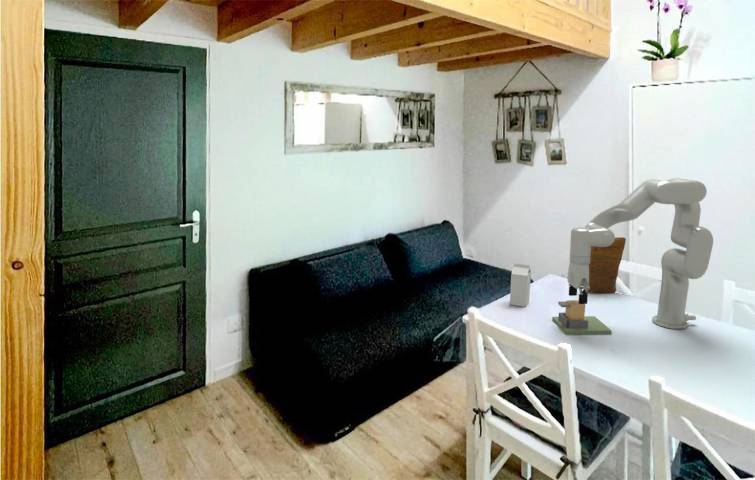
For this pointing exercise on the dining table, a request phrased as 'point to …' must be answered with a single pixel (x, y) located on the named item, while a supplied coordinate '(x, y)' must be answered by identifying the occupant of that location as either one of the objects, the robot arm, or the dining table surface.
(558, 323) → the green base plate
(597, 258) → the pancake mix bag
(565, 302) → the tan wooden block
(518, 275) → the milk carton
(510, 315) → the dining table surface
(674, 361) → the dining table surface
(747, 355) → the dining table surface
